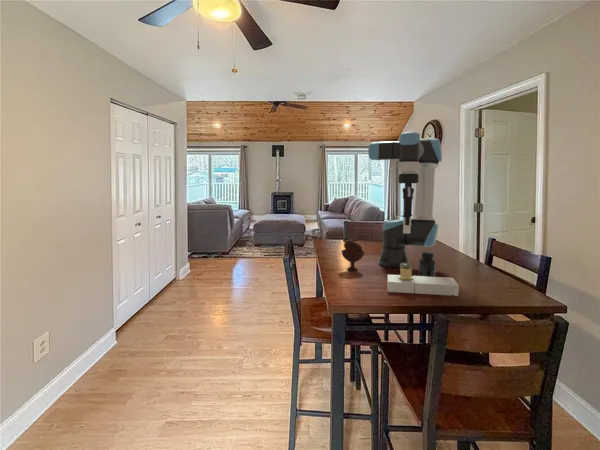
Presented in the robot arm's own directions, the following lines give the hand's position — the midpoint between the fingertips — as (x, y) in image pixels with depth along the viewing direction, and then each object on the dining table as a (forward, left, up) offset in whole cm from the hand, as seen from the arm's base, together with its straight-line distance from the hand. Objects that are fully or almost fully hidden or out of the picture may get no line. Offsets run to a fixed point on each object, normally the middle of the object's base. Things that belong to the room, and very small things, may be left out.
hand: (406, 233), depth 150 cm
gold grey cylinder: (+1, 0, -22) cm, 22 cm away
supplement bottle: (-15, +10, -23) cm, 29 cm away
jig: (+1, +6, -22) cm, 23 cm away
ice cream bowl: (-27, -23, -23) cm, 42 cm away
